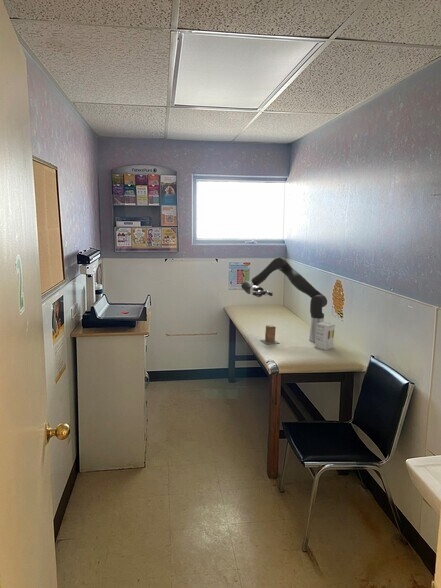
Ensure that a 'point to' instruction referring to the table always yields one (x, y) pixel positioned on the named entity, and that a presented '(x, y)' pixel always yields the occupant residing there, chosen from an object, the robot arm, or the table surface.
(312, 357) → the table surface
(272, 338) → the walnut block
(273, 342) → the mat
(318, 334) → the supplement box
